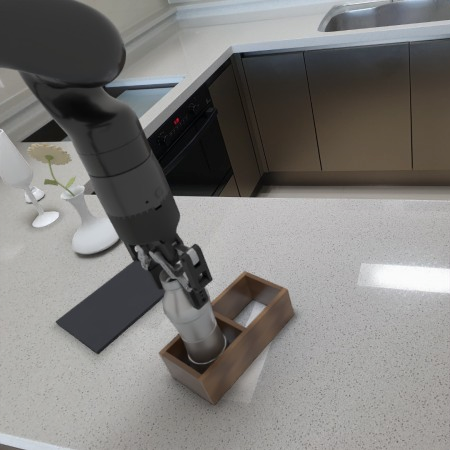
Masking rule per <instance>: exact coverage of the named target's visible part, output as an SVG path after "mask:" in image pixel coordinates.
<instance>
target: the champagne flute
mask: <svg viewBox="0 0 450 450" xmlns="http://www.w3.org/2000/svg"><path fill="white" fill-rule="evenodd" d="M0 178H1V180H2V182H3V183H4V184H5V185H6V186H8V187H10V188H14V189H19V190H23V192H24V193H25V192H26V194H27V195H28V197H29V198H30V200H31V201H32V202H31V203H32V204H33V206H34V207H35V209H36V212H37V213H38V215H37V216H36V217H35V219H33V221H32V227H33V228H43V227H45V226H46V227H47V226H49V225H51V224H52V223H54V222H55V221H56V220H58V218H59V216H60V212H58V211H55V210H54V211H44V209H43V207H42V205H40V203H39V200H38V201H37V200H36V198H35V197H34V195H33V193H32V192H31V190H30V189H29V188H30V185H31V184H32V181H33V178H34V169H33V168H32V167H31V166H30V165H29V163H28V162H27V160H26V159H25V158H24V156H23V155H22V154H21V152H20V151H19V149H18V148H17V147H16V145H15V144H14V143H13V142H12V140H11V139H10V138H9V136H8V135H7V134H6V132H5V131H4V130H3V128H2V129H1V128H0Z"/></svg>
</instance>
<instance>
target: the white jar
mask: <svg viewBox="0 0 450 450" xmlns="http://www.w3.org/2000/svg"><path fill="white" fill-rule="evenodd" d="M29 189H30V190H31V192H32V193H33V195H34V197H35V198H36V200H37V201H38V202H39V200H41V199H42V198H43V197H44V196H45V191H43V190H42V189H40V188H38V187H37V186H29ZM24 201H25V203H32V201H31V200H30V198H29V197H28V195H27V194H26V192H25V191H24Z"/></svg>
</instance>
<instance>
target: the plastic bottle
mask: <svg viewBox="0 0 450 450" xmlns="http://www.w3.org/2000/svg"><path fill="white" fill-rule="evenodd" d="M180 266H181V265H180V262H178V263H176V264H175V265H174V266H172V268H173V269H174V270H177V269H178V268H179V267H180ZM183 275H184V277H185V278H186V279H187V280H188V278H187V276H186V273H185V272H184V273H183ZM159 278H160V281H161V283H162V287H163V289H164V290H165V294H164V297H163V298H162V311H163V313H164V315H165V317H166V318H167V319H168V321H169V322H170V323H171V324H172V326H173V327H174V328H175V329H176V331H177V332H178V334H180V336H181V338H182V340H183V341H184V344H185V347H186V350H187V353H188V358H189V362H190V364H189V365H190V366H189V367H191V368H192V369H194V370H196V371H197V372H199V373H200V374H203V373H204V372H205V371H206V370H207V369H208V368H209V367H210V366H211V365H212V364H213V363H214V362H215V361H216V359H217V358H218V357H219V356H220V355H221V354H222V353H223V352H224V351H225V350H226V349H227V348H228V347H229V346H230V345H231V344H230V343H229V342H228V340H227V339H226V337H225V336H224V335H223V334H222V332H221V330H220V328H219V326H218V325H217V322H216V319H215V316H214V313H213V310H212V305H211V302H212V301H211V296H210V293H209V289H208V288H207V286H205V287H204V288H205V290H206V293H207V295H208V297H209V301H208V302H207V303H206V304H205V305H204V306H203V307H202V308H201V309H200V310H197V309H195V308H193V306H192V304H191V302H190V299H189V297H188V295H187V293H186V291H185V288H184V287H183V286H182V284H181V283H180V282H179V281H178V279H172V278H171V277H170V276H169V275H168V273H167V272H166V271H165V270H164V269H163V270H162V271H161V273H160V276H159Z"/></svg>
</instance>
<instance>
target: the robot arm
mask: <svg viewBox="0 0 450 450" xmlns="http://www.w3.org/2000/svg"><path fill="white" fill-rule="evenodd" d="M126 60H127V48H126V44H125V40H124V38H123V36H122V33H121V32H120V30H119V29H118V27H117V26H116V24H115V23H114V22H113V21H112V20H111V18H109V17H108V16H107V15H106V14H105V13H103V12H101V11H100V10H98V9H97V8H95V7H93V6H92V5H89V4H88V3H84V2H82V1H79V0H0V69H8V70H13V71H17V72H18V75H19V76H20V78H21V79H22V81H23V83H24V85H26V88H28V89H29V91H30V92H31V93H32V95H33V96H34V97H35V99H37V101H38V102H39V103H40V104H41V106H42V107H43V109H45V111H46V112H47V113H48V114H49V117H51V118H52V120H53V121H55V123H56V124H57V125H58V126H59V127H60V128H61V129H62V130H63V132H64V133H65V134H66V135H67V136H68V137H69V139H70V141H71V143H72V146H73V148H74V150H75V152H76V154H77V156H78V158H79V160H80V161H81V163H82V165H83V167H84V169H85V171H86V173H87V175H88V177H89V180H90V182H91V186H92V188H93V191H94V193H95V195H96V197H97V199H98V201H99V203H100V205H101V207H102V208H103V210H104V212H105V214H106V216H107V218H109V220H110V222H111V223H112V225H113V227H114V229H115V231H116V233H117V235H118V237H119V240H120V241H121V242H122V243H123V244H124V246H125V248H126V250H127V252H128V254H129V256H130V257H131V260H132V262H133V261H135V262H136V263H137V262H139V261H141V265H142V267H143V268H144V269H145V270H147V271H148V273H149V275H150V277H151V279H152V281H153V283H154V285H155V287H156V288H158V289H160V290H162V289H163V287H162V283H161V281H160V278H159V276H160V273H161V271H162V270H163V269H164V270H165V271H166V272H167V273H168V275H169V276H170V277H171V278H172V279H178V281H179V282H180V283H181V284H182V286H183V287H184V288H185V291H186V293H187V295H188V297H189V299H190V302H191V304H192V306H193V308H195V309H197V310H200V309H201V308H202V307H203V306H204V305H205V304H206V303H207V302H208V301H209V297H208V295H207V293H206V290H205V288H204V287H207V286H208V285H209V284H211V282H212V281H213V280H214V279H213V276H212V273H211V271H210V268H209V266H208V263H207V261H206V258H205V255H204V253H203V250H202V248H201V246H200V245H198V244H197V243H194V244H192V245H191V246H190V247H189V246H187V245H185V243H184V241H183V239H182V237H180V235H179V233H178V232H177V229H178V226H179V223H180V221H181V212H180V210H179V207H178V205H177V203H176V200H175V198H174V195H173V193H172V190H171V188H170V186H169V183H168V181H167V178H166V175H165V173H164V171H163V168H162V166H161V164H160V162H159V161H158V159H157V157H156V156H155V154H154V152H153V150H152V148H151V147H152V146H151V145H150V142H149V140H148V138H147V136H146V133H145V131H144V128H143V126H142V123H141V121H140V119H139V117H138V115H137V113H136V112H135V110H134V108H133V107H132V106H131V105H130V104H128V103H126V102H125V101H122V100H120V99H118V98H116V97H113V96H112V95H110V94H109V93H108V92H107V91H105V89H104V86H106V85H108V84H111V83H113V81H115V80H116V79H117V78H118V77H119V76H120V75H121V74H122V72H123V70H124V68H125V64H126ZM176 263H180V265H181V266H180V267H179V268H178V269H177V270H174V269H173V268H172V266H174V265H175V264H176ZM184 272H185V273H186V276H187V278H188V280H187V279H186V278H185V277H184V275H183V273H184Z"/></svg>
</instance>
